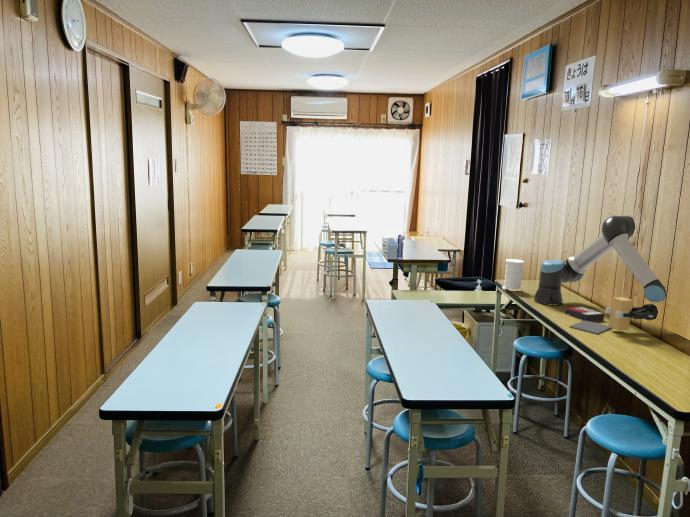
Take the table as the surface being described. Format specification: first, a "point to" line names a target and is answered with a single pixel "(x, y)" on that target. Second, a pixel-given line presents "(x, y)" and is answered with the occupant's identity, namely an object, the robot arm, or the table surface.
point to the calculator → (585, 314)
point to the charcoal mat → (590, 327)
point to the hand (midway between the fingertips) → (611, 312)
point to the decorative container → (513, 274)
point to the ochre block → (620, 306)
